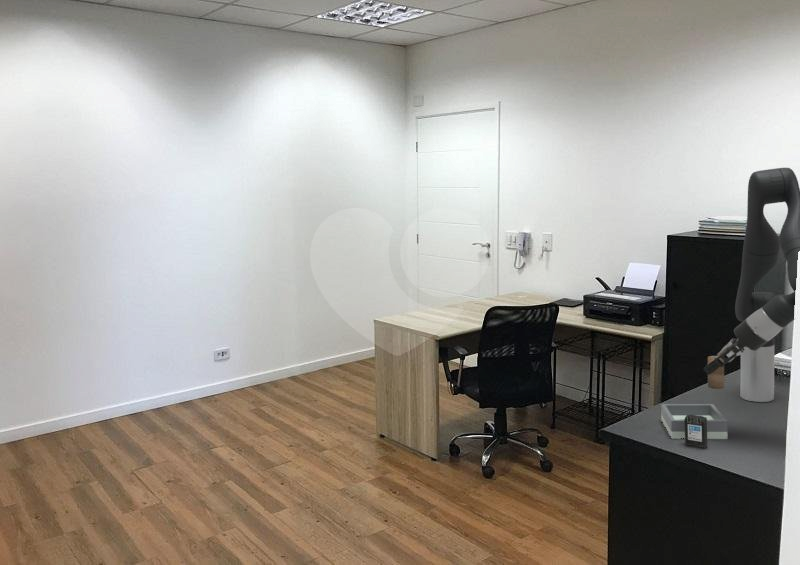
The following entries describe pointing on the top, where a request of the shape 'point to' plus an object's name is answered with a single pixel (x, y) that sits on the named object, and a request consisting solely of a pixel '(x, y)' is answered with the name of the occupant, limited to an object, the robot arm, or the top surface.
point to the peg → (716, 376)
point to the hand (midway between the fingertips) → (707, 369)
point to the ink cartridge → (695, 431)
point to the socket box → (677, 412)
